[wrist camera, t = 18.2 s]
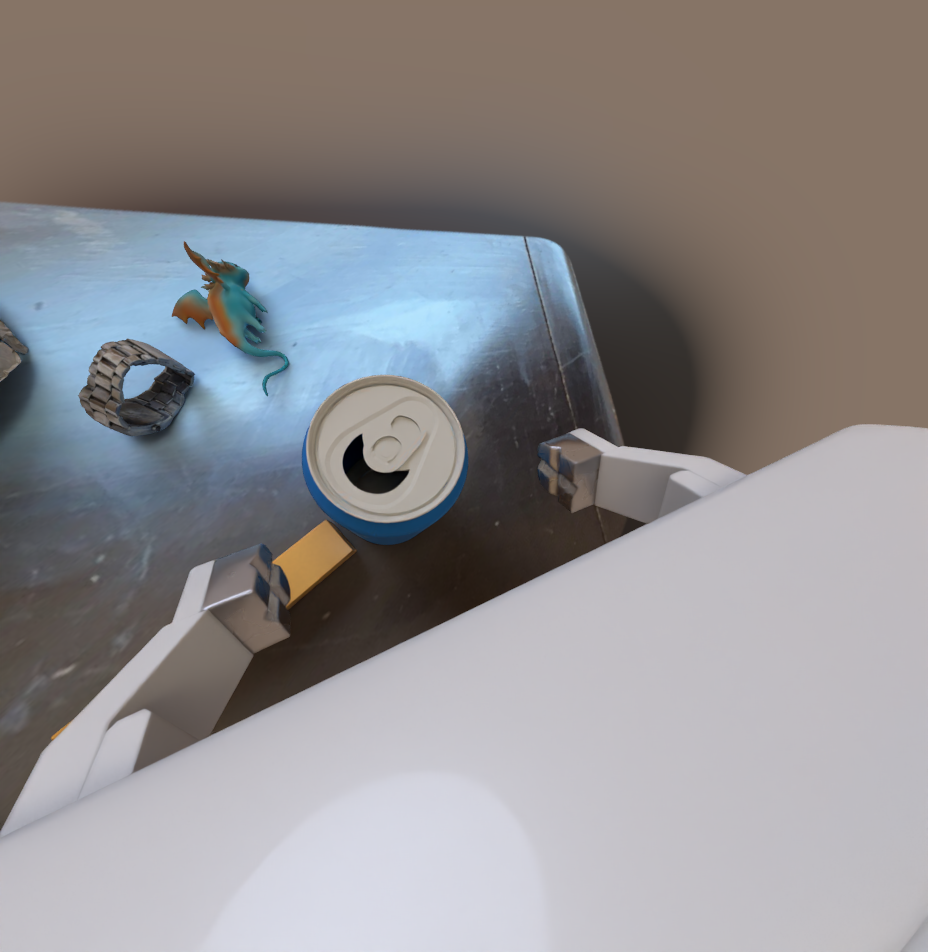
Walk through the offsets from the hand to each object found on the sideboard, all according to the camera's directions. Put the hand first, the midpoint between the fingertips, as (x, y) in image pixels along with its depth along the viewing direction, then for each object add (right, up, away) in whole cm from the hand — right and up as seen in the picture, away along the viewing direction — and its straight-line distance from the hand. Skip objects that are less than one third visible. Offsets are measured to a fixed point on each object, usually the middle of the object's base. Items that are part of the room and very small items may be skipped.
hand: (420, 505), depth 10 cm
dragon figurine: (-15, +11, +14) cm, 23 cm away
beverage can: (-4, -1, +14) cm, 14 cm away
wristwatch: (-18, +5, +12) cm, 23 cm away
